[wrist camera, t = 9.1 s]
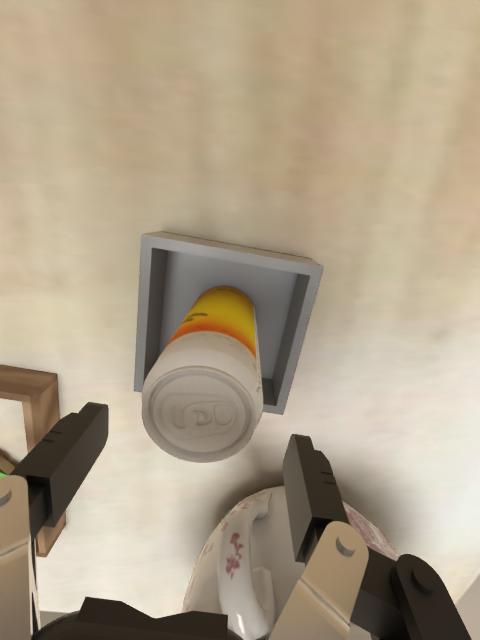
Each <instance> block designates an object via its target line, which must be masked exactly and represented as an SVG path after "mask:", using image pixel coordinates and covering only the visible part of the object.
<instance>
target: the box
mask: <svg viewBox="0 0 480 640" xmlns="http://www.w3.org/2000/svg"><path fill="white" fill-rule="evenodd" d="M323 268H324V267H323V266H321V265H320V264H318V263H316V262H315V261H313V260H312V259H310V258H305V257H300V256H294V255H289V254H283V253H278V252H272V251H267V250H261V249H256V248H250V247H245V246H239V245H233V244H228V243H222V242H217V241H211V240H206V239H200V238H195V237H189V236H184V235H178V234H173V233H167V232H162V231H161V232H154V233H147V234H142V237H141V257H140V277H139V297H138V317H137V337H136V357H135V377H134V391H136V392H142V389H143V385H144V382H145V379H146V377H147V375H148V374H149V372H150V370H151V369H152V367H153V366H154V364H155V363H156V361H157V360H158V358H159V357H160V355H161V354H162V352H163V351H164V349H165V347H166V346H167V344H168V343H169V341H170V340H171V338H172V337H173V335H174V334H175V332H176V331H177V329H178V328H179V326H180V324H181V323H182V321H183V320H184V318H185V317H186V315H187V314H188V312H189V311H190V309H191V308H192V306H193V305H194V303H195V302H196V300H197V299H198V297H199V296H200V295H201V294H203V293H204V292H205V291H207V290H209V289H211V288H215V287H221V286H224V287H231V288H235V289H237V290H239V291H241V292H242V293H244V294H245V295H246V296H247V297H248V298H249V299H250V301H251V302H252V304H253V306H254V308H255V312H256V321H257V332H258V344H259V356H260V368H261V380H262V391H263V412H268V413H274V414H280V415H283V413H284V410H285V406H286V402H287V399H288V395H289V391H290V388H291V384H292V381H293V377H294V373H295V370H296V366H297V362H298V359H299V355H300V351H301V348H302V344H303V341H304V337H305V333H306V330H307V326H308V322H309V319H310V315H311V311H312V308H313V304H314V300H315V297H316V293H317V290H318V286H319V282H320V279H321V275H322V271H323Z"/></svg>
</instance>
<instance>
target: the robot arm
mask: <svg viewBox="0 0 480 640" xmlns="http://www.w3.org/2000/svg"><path fill="white" fill-rule="evenodd" d="M107 438H108V405H106V404H99V403H93V402H88V403H87V404H86V405H85V406H84V407H83V408H82V409H81V411H80V412H79V413H70V414H69V415H67V416H65V417H64V418H62V419H60V420H59V421H58V422H57V423H56V424H55V425H54V426H53V427H52V428H51V430H50V431H49V433H47V434H46V435H45V436H44V437H43V438H42V440H41V441H40V442H39V443H38V444H37V445H36V446H35V447H34V448H33V449H32V450H31V451H30V452H29V453H28V455H27V456H26V457H25V458H24V459H23V460H22V461H21V462H20V463H19V464H18V465H17V467H16V468H15V469H14V470H13V471H12V472H11V473H10V474H9V475H8V476H4V477H0V640H244V639H243V638H242V637H240V636H239V635H238V634H236V633H235V632H234V631H232V630H230V629H228V615H225V614H217V613H209V612H202V611H189V612H185V613H180V614H176V615H171V616H167V617H162V618H152V617H150V616H148V615H146V614H144V613H142V612H140V611H138V610H137V609H135V608H133V607H131V606H129V605H127V604H125V603H123V602H122V601H115V600H107V599H99V598H91V597H85V600H84V602H83V604H82V607H81V609H80V610H79V611H75V612H72V613H69V614H66V615H64V616H62V617H60V618H58V619H56V620H54V621H52V622H50V623H49V624H47V625H45V626H44V627H42V628H41V626H40V613H39V602H38V585H37V565H36V545H35V537H36V536H37V534H38V533H39V531H40V530H41V528H42V527H43V526H45V527H52V528H55V526H56V524H57V523H58V521H59V520H60V518H61V516H62V515H63V513H64V511H65V510H66V508H67V507H68V505H69V503H70V502H71V500H72V498H73V497H74V495H75V494H76V492H77V490H78V489H79V487H80V485H81V484H82V482H83V481H84V479H85V477H86V476H87V474H88V472H89V471H90V469H91V468H92V466H93V464H94V463H95V461H96V459H97V458H98V456H99V455H100V453H101V451H102V450H103V448H104V446H105V444H106V441H107ZM283 480H284V487H285V494H286V502H287V509H288V516H289V523H290V530H291V538H292V545H293V552H294V559H295V562H301V563H305V570H304V572H303V574H302V576H301V578H299V580H298V582H297V583H296V585H295V587H294V589H293V591H292V593H291V595H290V597H289V599H288V601H287V603H286V605H285V607H284V609H283V611H282V613H281V615H280V617H279V619H278V621H277V623H276V625H275V627H274V629H273V631H272V633H271V635H270V637H269V639H268V640H347V638H348V635H349V631H350V625H349V621H350V622H352V623H353V624H355V625H357V626H359V627H360V628H362V629H364V630H366V631H367V632H369V633H370V635H371V639H372V640H471V637H470V635H469V634H468V631H467V629H466V627H465V625H464V623H463V621H462V619H461V617H460V615H459V613H458V611H457V609H456V607H455V605H454V603H453V601H452V599H451V597H450V595H449V593H448V591H447V589H446V587H445V585H444V583H443V581H442V580H441V578H440V577H439V575H438V574H437V573H436V571H435V570H434V569H433V568H432V567H431V566H430V565H428V564H427V563H426V562H425V561H423V560H422V559H420V558H418V557H416V556H414V555H411V554H403V555H401V556H400V557H399V558H398V560H397V561H395V560H393V559H391V558H389V557H387V556H385V555H383V554H381V553H379V552H377V551H375V550H373V549H371V548H370V547H368V546H367V545H366V543H365V541H364V539H363V538H362V536H361V535H360V534H359V533H358V532H357V531H356V530H355V529H354V528H353V527H351V525H350V523H349V520H348V517H347V514H346V511H345V508H344V505H343V502H342V499H341V496H340V493H339V490H338V487H337V485H336V481H335V478H334V476H333V472H332V469H331V466H330V463H329V461H328V460H327V458H326V457H325V456H324V454H323V453H322V452H321V451H318V450H314V448H313V444H312V441H311V438H310V437H309V436H304V435H297V434H292V435H291V437H290V441H289V444H288V447H287V451H286V454H285V457H284V461H283Z"/></svg>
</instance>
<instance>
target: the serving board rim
mask: <svg viewBox="0 0 480 640" xmlns="http://www.w3.org/2000/svg"><path fill="white" fill-rule="evenodd" d="M0 398H3V399H9V400H16V401H22V405H23V414H24V423H25V432H26V440H27V449H28V453H29V452H30V451H31V450H32V449H33V448H34V447H35V446H36V445H37V444H38V443H39V442H40V441H41V440H42V438H43V437H44V436H45V435H46V434H47V433H49V431H50V430H51V428H52V427H53V426H54V425H55V424H56V423H57V422H58V421H59V420H60V419H59V402H58V385H57V374H54V373H48V372H41V371H35V370H29V369H23V368H16V367H10V366H4V365H0ZM65 525H66V519H65V511H64V513H63V515H62V516H61V518H60V520H59V521H58V523H57V524H56V526H55V528H52V527H45V526H43V527H42V528H41V530H40V531H39V533H38V534H37V536H36V537H35V545H36V556H39V557H47V555H48V554H49V552H50V550H51V548H52V547H53V545H54V543H55V542H56V540H57V538H58V537H59V535H60V533H61V532H62V530H63V528H64V527H65Z"/></svg>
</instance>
